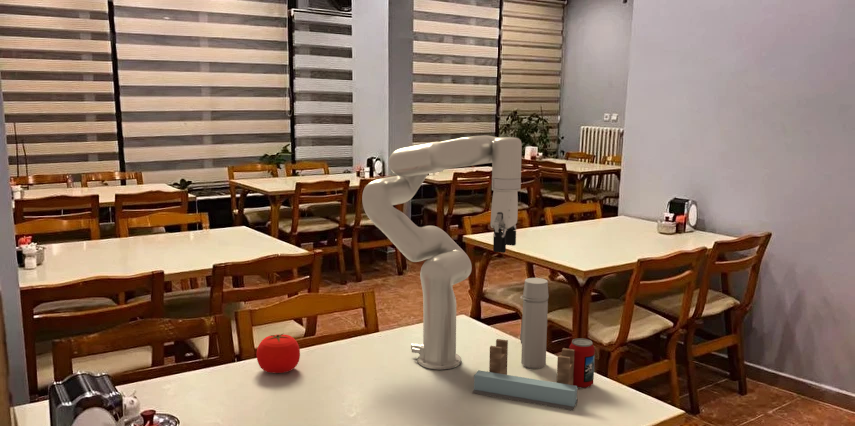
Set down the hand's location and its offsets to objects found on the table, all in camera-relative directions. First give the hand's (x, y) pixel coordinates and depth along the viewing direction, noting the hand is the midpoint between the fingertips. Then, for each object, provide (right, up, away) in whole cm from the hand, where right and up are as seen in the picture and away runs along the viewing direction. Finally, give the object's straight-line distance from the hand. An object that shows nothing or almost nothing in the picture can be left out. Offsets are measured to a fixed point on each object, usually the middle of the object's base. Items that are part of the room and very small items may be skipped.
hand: (504, 248), depth 183 cm
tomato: (-62, -35, +10) cm, 72 cm away
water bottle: (+9, -34, +16) cm, 39 cm away
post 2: (+15, -38, -4) cm, 41 cm away
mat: (+4, -38, -7) cm, 39 cm away
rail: (+4, -37, -7) cm, 38 cm away
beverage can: (+21, -37, +2) cm, 42 cm away
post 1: (-1, -36, +3) cm, 36 cm away
